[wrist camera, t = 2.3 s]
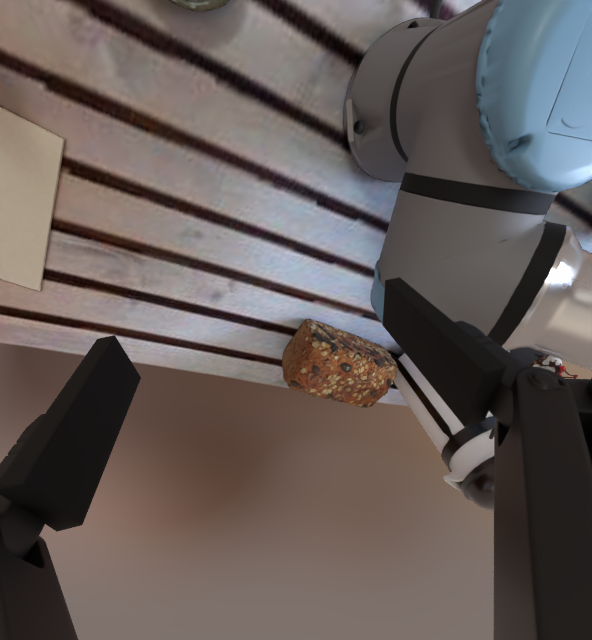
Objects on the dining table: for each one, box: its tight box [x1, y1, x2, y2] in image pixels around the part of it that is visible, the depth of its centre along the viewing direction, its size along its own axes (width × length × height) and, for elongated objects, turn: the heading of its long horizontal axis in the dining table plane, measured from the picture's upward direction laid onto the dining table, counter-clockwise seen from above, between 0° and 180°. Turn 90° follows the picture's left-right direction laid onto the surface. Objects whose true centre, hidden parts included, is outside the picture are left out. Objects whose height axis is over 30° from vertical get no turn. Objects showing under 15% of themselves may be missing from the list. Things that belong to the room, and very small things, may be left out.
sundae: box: [510, 347, 577, 379], centre depth 53 cm, size 7×7×15 cm
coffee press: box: [388, 351, 496, 511], centre depth 46 cm, size 17×16×30 cm
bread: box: [281, 319, 397, 408], centre depth 49 cm, size 19×11×10 cm, turn 60°
